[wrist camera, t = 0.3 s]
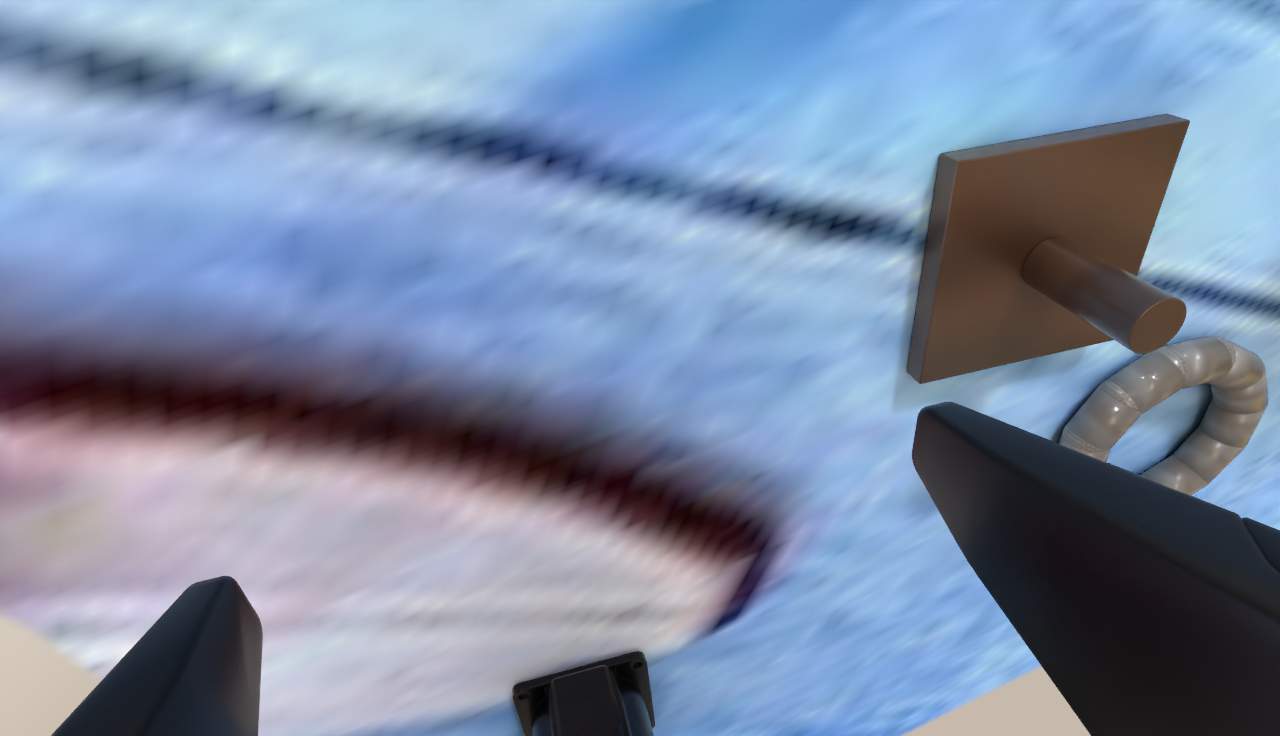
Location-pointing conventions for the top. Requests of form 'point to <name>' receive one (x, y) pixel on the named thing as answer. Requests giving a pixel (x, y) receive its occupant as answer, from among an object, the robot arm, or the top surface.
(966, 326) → the tape stand
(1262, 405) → the grey-brown segmented ring
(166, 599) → the top surface
